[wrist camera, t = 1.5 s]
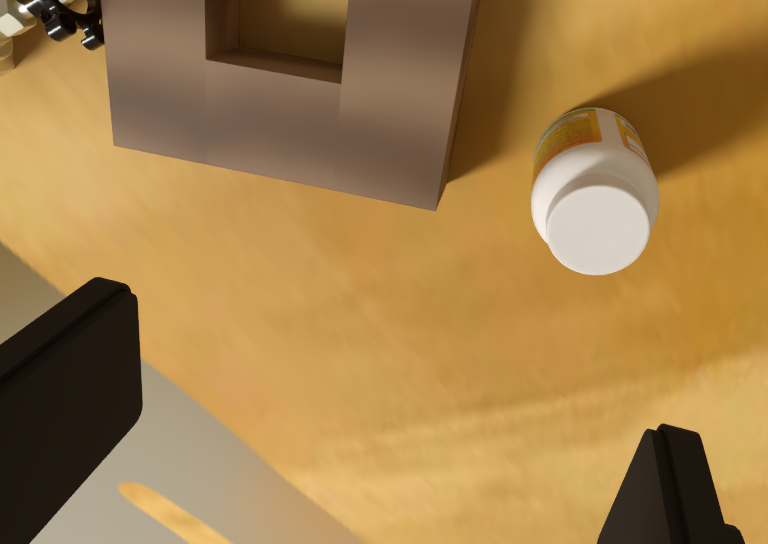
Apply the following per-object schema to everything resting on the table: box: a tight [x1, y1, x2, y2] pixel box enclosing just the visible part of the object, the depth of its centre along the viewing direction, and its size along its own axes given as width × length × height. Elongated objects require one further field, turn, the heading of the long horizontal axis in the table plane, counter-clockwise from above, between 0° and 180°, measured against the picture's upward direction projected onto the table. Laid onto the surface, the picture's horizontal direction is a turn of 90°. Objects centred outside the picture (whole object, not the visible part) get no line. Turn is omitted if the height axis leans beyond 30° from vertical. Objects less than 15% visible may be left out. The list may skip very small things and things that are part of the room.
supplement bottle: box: [531, 107, 659, 275], centre depth 30 cm, size 5×5×10 cm
